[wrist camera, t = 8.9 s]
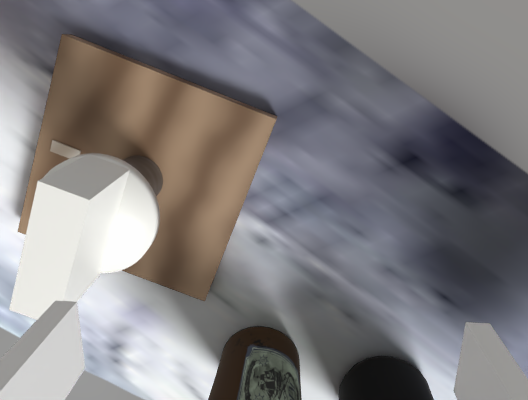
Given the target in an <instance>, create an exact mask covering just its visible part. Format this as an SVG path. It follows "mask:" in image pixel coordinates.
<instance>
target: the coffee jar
mask: <svg viewBox="0 0 528 400" xmlns="http://www.w3.org/2000/svg"><path fill="white" fill-rule="evenodd" d="M339 400H434V399H433V397H432V394H431V391H430V389H429V386H428V383H427V381H426V379H425V378H424V377H423V375H422V374H421V372H420V371H419V370H418V369H416V368H415V367H414V366H412V365H411V364H409V363H408V362H406V361H403V360H400V359H397V358H394V357H389V356H377V357H372V358H367V359H365V360H363V361H361V362H359V363H357V364H356V365H355V366H354V367H353V368H352V369H351V370H350V371H349V372H348V373H347V374H346V375H345V377H344V379H343V381H342V383H341V385H340V389H339Z"/></svg>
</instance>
